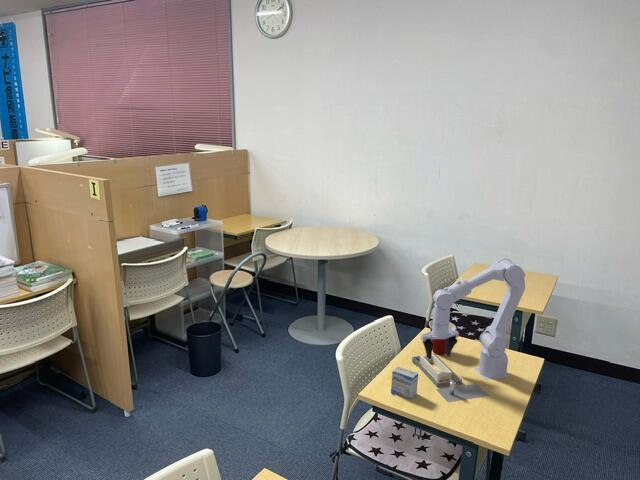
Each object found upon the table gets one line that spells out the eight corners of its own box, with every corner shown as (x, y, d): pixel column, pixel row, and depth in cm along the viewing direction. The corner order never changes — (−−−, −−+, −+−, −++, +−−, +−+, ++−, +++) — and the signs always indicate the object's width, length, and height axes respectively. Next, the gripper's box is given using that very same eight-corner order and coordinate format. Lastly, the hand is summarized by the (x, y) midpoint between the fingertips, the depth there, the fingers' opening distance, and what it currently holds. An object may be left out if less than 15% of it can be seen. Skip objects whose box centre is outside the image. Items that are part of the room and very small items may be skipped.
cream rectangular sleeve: (453, 381, 170) (454, 374, 169) (439, 383, 168) (440, 376, 167) (432, 361, 184) (433, 354, 183) (419, 362, 183) (420, 355, 182)
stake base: (475, 384, 169) (477, 371, 167) (489, 397, 161) (491, 382, 160) (435, 390, 164) (437, 376, 163) (447, 403, 157) (448, 388, 156)
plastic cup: (443, 361, 185) (446, 333, 182) (421, 351, 193) (423, 324, 190) (459, 352, 192) (461, 325, 189) (436, 343, 200) (438, 317, 197)
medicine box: (390, 393, 162) (391, 370, 160) (396, 387, 166) (397, 365, 164) (411, 401, 158) (413, 378, 156) (416, 395, 161) (418, 372, 159)
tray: (434, 358, 187) (434, 354, 186) (461, 385, 168) (462, 380, 168) (411, 361, 184) (412, 356, 184) (436, 388, 166) (437, 383, 165)
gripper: (452, 316, 176) (449, 349, 180) (417, 319, 173) (415, 353, 176) (463, 323, 170) (459, 358, 173) (426, 327, 166) (424, 362, 169)
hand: (438, 356), depth 174 cm, fingers open, 7 cm apart
